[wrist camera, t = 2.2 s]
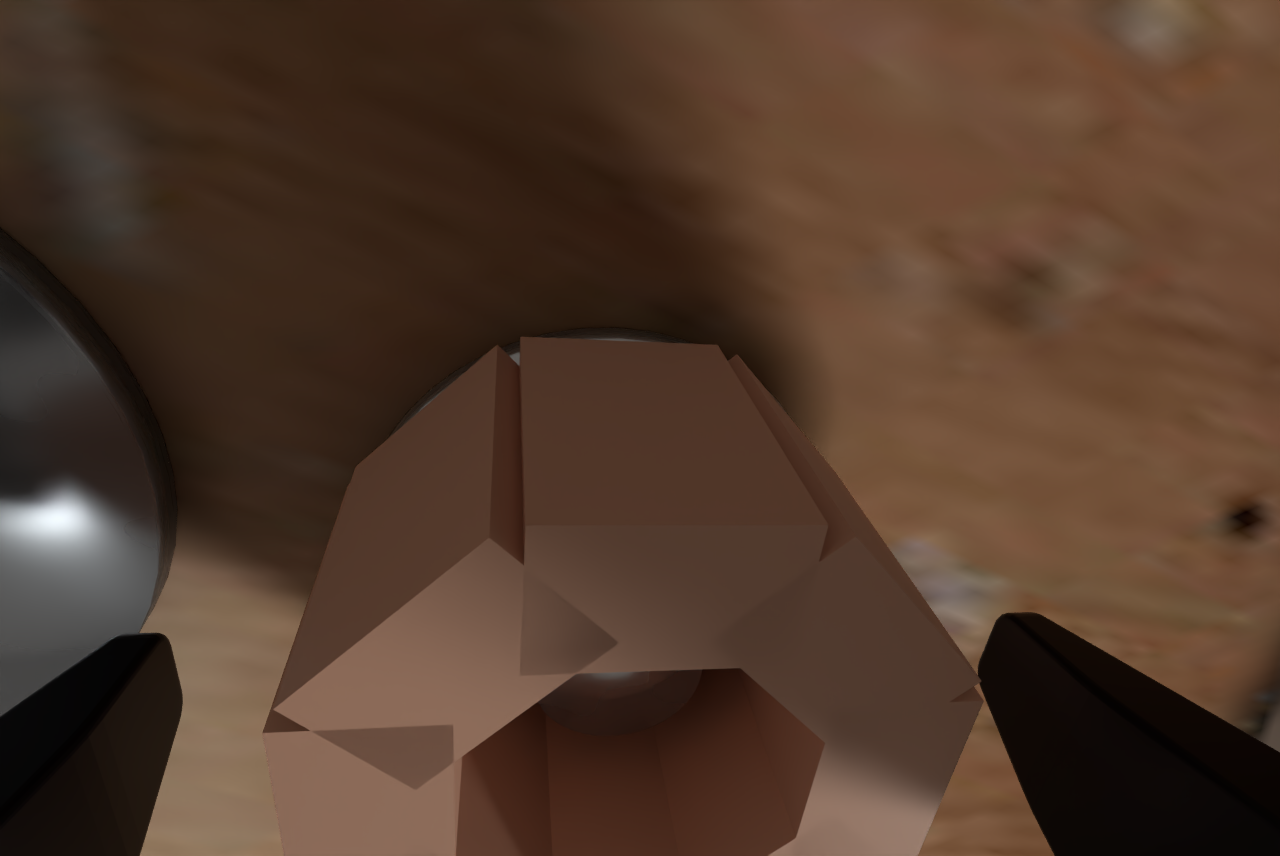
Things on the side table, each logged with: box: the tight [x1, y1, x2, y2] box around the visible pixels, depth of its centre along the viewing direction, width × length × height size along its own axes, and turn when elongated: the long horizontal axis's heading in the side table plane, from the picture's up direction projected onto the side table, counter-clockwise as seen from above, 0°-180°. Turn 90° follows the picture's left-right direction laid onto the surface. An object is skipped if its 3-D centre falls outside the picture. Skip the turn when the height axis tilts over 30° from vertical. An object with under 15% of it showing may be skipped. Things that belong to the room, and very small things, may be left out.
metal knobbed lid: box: [387, 328, 789, 736], centre depth 9 cm, size 6×6×2 cm
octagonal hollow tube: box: [263, 337, 984, 856], centre depth 8 cm, size 6×6×4 cm
